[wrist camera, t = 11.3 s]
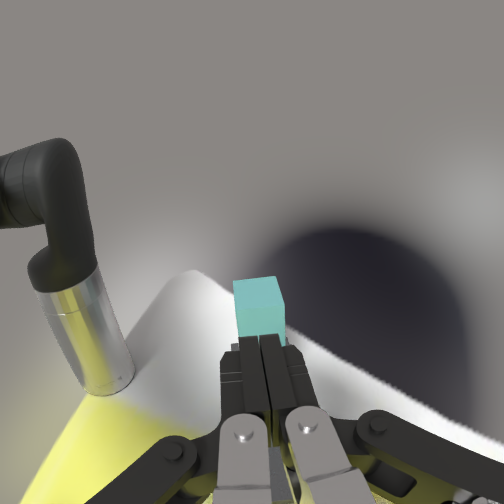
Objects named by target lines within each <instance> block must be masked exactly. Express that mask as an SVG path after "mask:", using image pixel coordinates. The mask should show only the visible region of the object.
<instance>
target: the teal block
mask: <svg viewBox="0 0 504 504" xmlns="http://www.w3.org/2000/svg"><path fill="white" fill-rule="evenodd" d="M233 288H234V300H235V312H236V319H237V327H238V334H239V337H245V336H255V335H257V336H258V341H259V335H266V334H276V333H278V334H279V337H280V341H281V345H282V346H285V305H284V302H283V299H282V295H281V292H280V289H279V286H278V283H277V280H276V277H275V276H273V277H263V278H255V279H246V280H237V281H233Z"/></svg>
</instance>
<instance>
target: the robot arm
mask: <svg viewBox="0 0 504 504" xmlns="http://www.w3.org/2000/svg"><path fill="white" fill-rule="evenodd" d="M41 224H45V226H46V232H47V237H48V246H46V247H45V248H43V249H42V250H40V251H39V252H38V253H37V254H36V255H34V256H33V258H32V259H31V260H30V261H29V263H28V268H27V269H28V275H29V278H30V280H31V283H32V285H33V288H34V290H35V293H36V295H37V298H38V300H39V303H40V305H41V307H42V309H43V312H44V314H45V316H46V319H47V321H48V323H49V325H50V327H51V329H52V331H53V334H54V336H55V338H56V340H57V342H58V344H59V346H60V347H61V349H62V351H63V353H64V355H65V357H66V359H67V361H68V363H69V364H70V366H71V368H72V370H73V372H74V374H75V375H76V377H77V379H78V380H79V382H80V384H81V385H82V387H83V389H84V390H85V391H86V392H88V393H90V394H92V395H96V396H106V395H111V394H114V393H116V392H118V391H120V390H122V389H123V388H124V387H126V386H127V385H128V384H129V383H130V381H131V380H132V378H133V376H134V373H135V366H134V363H133V361H132V358H131V356H130V353H129V351H128V348H127V346H126V343H125V341H124V338H123V336H122V333H121V331H120V328H119V325H118V322H117V320H116V317H115V314H114V311H113V308H112V306H111V303H110V300H109V297H108V294H107V291H106V288H105V285H104V282H103V279H102V276H101V272H100V269H99V266H98V262H97V259H96V255H95V249H94V237H93V231H92V225H91V221H90V216H89V210H88V205H87V200H86V192H85V184H84V178H83V172H82V168H81V164H80V160H79V157H78V154H77V152H76V150H75V148H74V147H73V145H72V144H71V143H70V142H69V141H67V140H66V139H63V138H55V139H50V140H47V141H43V142H40V143H37V144H34V145H31V146H28V147H25V148H23V149H20V150H17V151H14V152H12V153H9V154H6V155H3V156H0V229H5V228H24V227H30V226H35V225H41ZM238 339H239V350H240V351H228V352H225V354H224V355H223V357H222V359H221V361H220V382H221V421H220V423H219V425H218V426H217V428H216V429H215V430H214V431H212V432H211V433H209V434H208V435H205V436H203V437H199V438H196V439H193V440H189V439H187V438H185V437H182V436H168V437H165V438H162V439H160V440H159V441H158V442H156V443H155V444H154V445H153V446H152V447H151V448H150V449H149V450H147V451H146V452H145V453H144V454H143V455H142V456H141V457H140V458H138V459H137V460H136V461H135V462H134V463H133V464H132V465H130V466H129V467H128V468H127V469H126V470H125V471H123V472H122V473H121V474H120V475H119V476H117V477H116V478H115V479H114V480H113V481H112V482H110V483H109V484H108V485H107V486H106V487H104V488H103V489H102V490H101V491H99V492H98V493H97V494H96V495H94V496H93V497H92V498H91V499H89V500H88V501H87V502H86V503H84V504H202V503H203V502H204V501H205V500H206V499H207V498H208V497H209V495H210V493H213V503H212V504H272V499H271V486H270V471H269V454H268V448H269V447H271V439H272V445H273V447H278V446H280V451H281V456H282V461H283V465H284V469H285V472H286V476H287V479H288V483H289V486H290V489H291V493H292V496H293V500H294V503H295V504H376V502H375V500H374V497H373V495H372V493H371V491H372V492H374V493H376V494H378V495H380V496H381V497H383V498H385V499H387V500H389V501H391V502H393V503H395V504H504V464H503V463H501V462H498V461H495V460H493V459H490V458H488V457H485V456H483V455H480V454H478V453H476V452H473V451H471V450H468V449H466V448H464V447H461V446H459V445H457V444H455V443H452V442H450V441H448V440H446V439H443V438H441V437H439V436H437V435H435V434H432V433H430V432H428V431H426V430H424V429H422V428H420V427H418V426H416V425H413V424H411V423H409V422H407V421H405V420H403V419H401V418H399V417H397V416H395V415H393V414H391V413H389V412H387V411H384V410H371V411H368V412H366V413H364V414H363V415H362V416H361V417H360V418H359V419H358V420H343V419H336V418H333V417H330V416H329V415H328V414H327V413H326V412H325V411H324V410H322V409H321V408H320V407H319V405H318V402H317V399H316V396H315V393H314V389H313V386H312V383H311V380H310V377H309V374H308V371H307V368H306V366H305V361H304V358H303V355H302V353H301V352H300V351H299V350H298V349H297V348H296V347H295V346H294V345H289V346H282V345H281V341H280V337H279V334H278V333H276V334H266V335H259V341H258V336H257V335H255V336H245V337H238Z"/></svg>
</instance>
